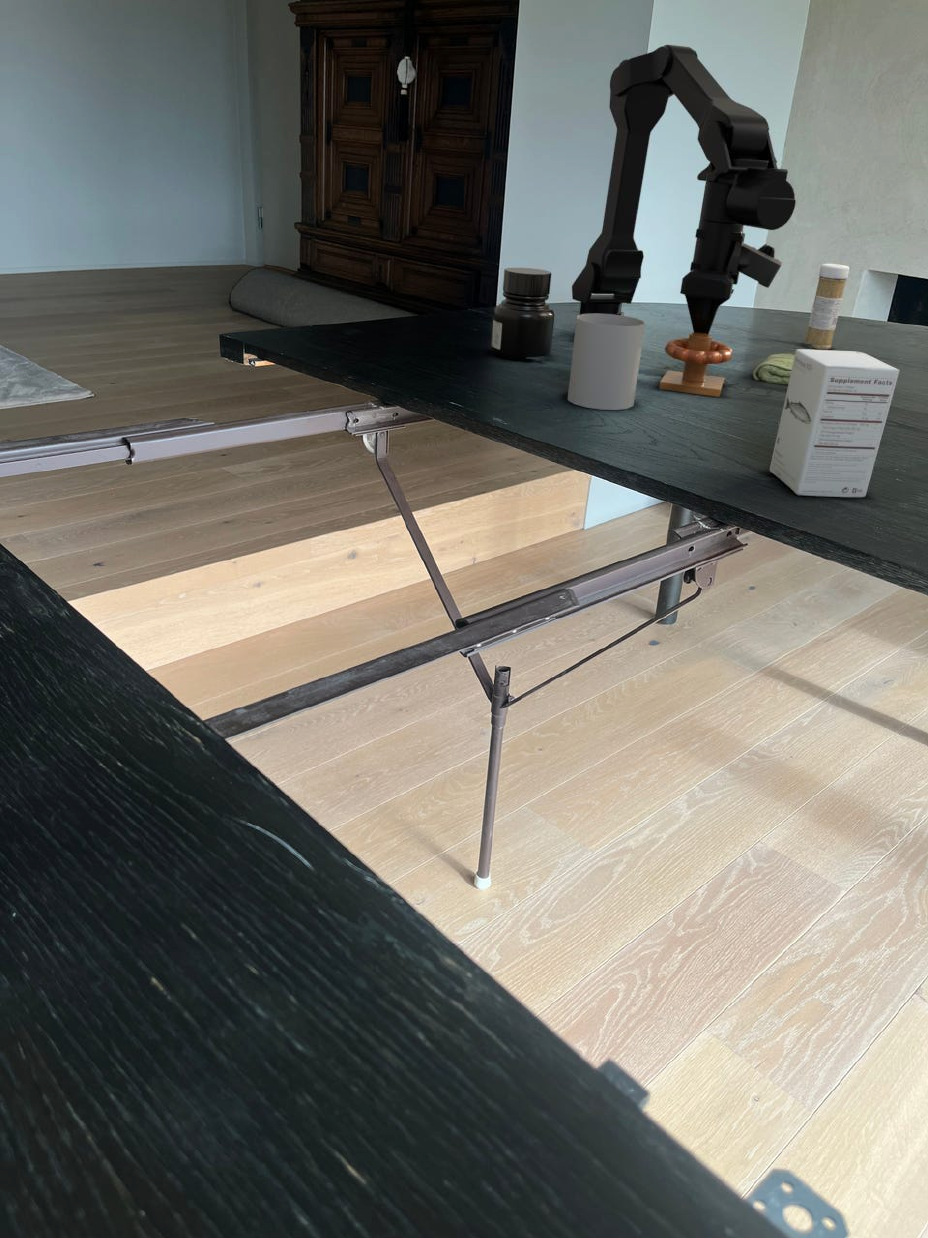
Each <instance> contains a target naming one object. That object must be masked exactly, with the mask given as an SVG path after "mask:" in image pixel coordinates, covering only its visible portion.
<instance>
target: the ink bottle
mask: <svg viewBox="0 0 928 1238" xmlns="http://www.w3.org/2000/svg"><path fill="white" fill-rule="evenodd" d="M503 271H504V272H503V284H502V291H503V292H502V296H503V297H504V298H505V299H502V300H501V302H500V303H499V304H497V305H496V306H495V307H494V311H493V319H492V335H491V347H490V348H491V349H490V351H491V353H492V354H493V355H495V356H497V357H499V358H504V359H510V360H515V361H526V362H527V361H530V362H531V361H532V362H533V361H534V362H535V358H540V357H541V358H542V357H546V356H549V355H551V353H552V345H553V333H554V325H555V312H554V310H553V308H551V307H550V305H549V303H547V302H546V301H547V300H549V298H550V294H551V293H550V292H551V283H552V274H553V273H552V272H551V271H549V270H545V269H540V268H531V267H507V268H504V270H503ZM533 358H534V359H533Z"/></svg>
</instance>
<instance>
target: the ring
mask: <svg viewBox="0 0 928 1238" xmlns="http://www.w3.org/2000/svg"><path fill="white" fill-rule="evenodd" d="M688 340H689V337H681V338H676V339H671V340H669V341H668V342H667V343H666V345H665V347H664V352H665V354H666V355H668V356H669V357H671V358H672V359H674V360H677V361H682V362H684V363H685V362H689V363H697V364H707V365H720V364H723V363H727V362H730V360H731V358H732V355H733V349H732V347H730V346H729V345H727V344H725V343H723V342H720V341H716V340H713V339H712V340H711V345H710V351H709V352H703V351H695V350H689V349H687V346H688Z"/></svg>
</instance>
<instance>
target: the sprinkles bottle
mask: <svg viewBox="0 0 928 1238" xmlns="http://www.w3.org/2000/svg"><path fill="white" fill-rule="evenodd" d="M849 273H850V267H849V266H848V265H844V264H838V263H822V264H821V265H820V268H819V272H818V282H817V287H816V290H815V296H814V300H813V304H812V308H811V311H810V316H809V321H808V324H807V325H808V328H807V331H806V336H805V341H804V342H803V344H804V345H805V344H806V345H811V349H812V350H831V348H832V343H833V338H834V332H835V330H836V326H837V323H838V318H839V314H840V310H841V305H842V301H843V295H844V289H845V285H846V282H847V279H848V277H849Z"/></svg>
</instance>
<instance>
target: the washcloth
mask: <svg viewBox="0 0 928 1238" xmlns="http://www.w3.org/2000/svg"><path fill="white" fill-rule="evenodd" d="M794 357H795V354H792V353H788V352H787V353H783V352H782V353H774V354H773V353H772V354H771V355H768V356H767V357H766V359H765V360H764V361H763V362H761V363H759V364H758V365H756V367H755V368H754V370H753V372H752V377H753V379H754V380H755V381H762V382H764V383H769V384H776V385H777V384H778V385H782V386H783V385H785V386H788V384H789V380H790V375H791V371H792V366H793V361H794Z"/></svg>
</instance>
